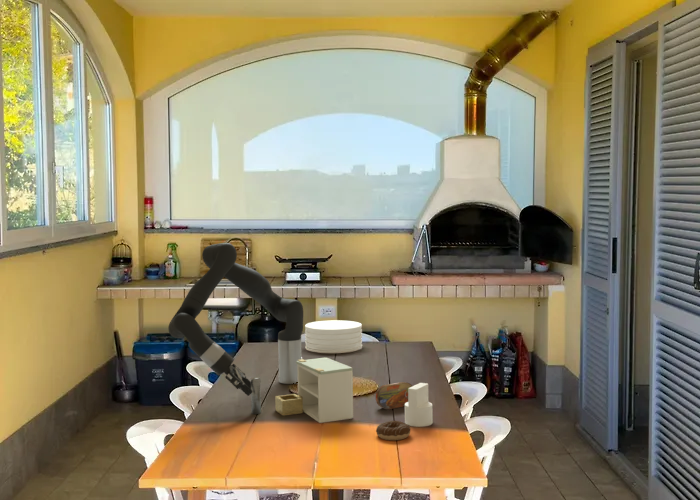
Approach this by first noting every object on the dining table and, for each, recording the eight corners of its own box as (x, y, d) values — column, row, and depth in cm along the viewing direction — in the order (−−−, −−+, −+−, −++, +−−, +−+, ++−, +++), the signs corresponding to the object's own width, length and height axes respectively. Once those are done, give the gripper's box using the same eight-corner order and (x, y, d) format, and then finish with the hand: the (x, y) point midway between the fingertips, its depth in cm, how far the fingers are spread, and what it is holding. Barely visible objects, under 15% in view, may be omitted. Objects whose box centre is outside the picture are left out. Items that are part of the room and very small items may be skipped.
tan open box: (297, 407, 265) (297, 393, 265) (304, 412, 259) (304, 398, 258) (275, 410, 262) (275, 396, 262) (282, 415, 255) (282, 401, 255)
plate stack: (304, 343, 386) (303, 321, 385) (358, 341, 389) (358, 319, 388) (307, 354, 358) (306, 330, 357) (365, 352, 361) (365, 328, 360)
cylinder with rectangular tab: (424, 428, 240) (424, 390, 239) (399, 424, 244) (399, 387, 244) (437, 420, 247) (436, 384, 246) (412, 417, 252) (412, 381, 251)
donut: (415, 440, 228) (415, 427, 228) (382, 443, 225) (382, 430, 225) (403, 430, 238) (403, 417, 238) (371, 433, 235) (371, 420, 235)
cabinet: (330, 403, 270) (329, 356, 269) (354, 418, 251) (353, 367, 250) (296, 408, 264) (295, 359, 263) (318, 423, 246) (317, 371, 245)
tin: (378, 411, 260) (378, 386, 259) (374, 408, 263) (374, 384, 262) (415, 405, 267) (415, 381, 266) (411, 403, 270) (410, 379, 269)
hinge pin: (259, 411, 261) (258, 376, 261) (262, 413, 259) (261, 378, 258) (250, 412, 260) (249, 377, 259) (253, 414, 257) (252, 379, 256)
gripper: (222, 354, 250) (258, 387, 252) (226, 346, 264) (259, 377, 266) (206, 371, 250) (242, 404, 252) (211, 362, 264) (245, 393, 266)
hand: (251, 390), depth 259 cm, fingers open, 8 cm apart
